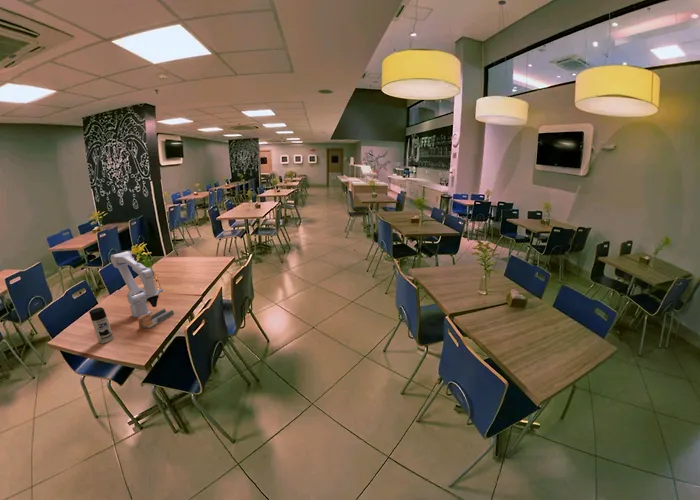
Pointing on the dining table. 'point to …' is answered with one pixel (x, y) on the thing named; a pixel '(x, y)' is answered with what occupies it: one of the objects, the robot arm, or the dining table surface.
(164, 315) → the chute
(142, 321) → the block
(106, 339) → the spray can
